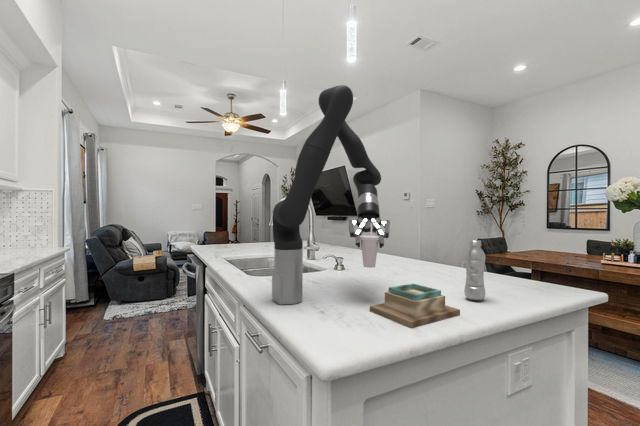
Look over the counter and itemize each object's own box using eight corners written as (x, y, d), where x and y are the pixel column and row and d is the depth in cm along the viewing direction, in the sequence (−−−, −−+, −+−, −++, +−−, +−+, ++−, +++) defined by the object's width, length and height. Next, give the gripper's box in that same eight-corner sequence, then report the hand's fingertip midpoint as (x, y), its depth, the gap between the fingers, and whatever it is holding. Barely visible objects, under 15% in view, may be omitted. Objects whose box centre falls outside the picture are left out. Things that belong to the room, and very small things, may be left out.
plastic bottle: (464, 301, 106) (465, 240, 106) (463, 296, 112) (464, 239, 112) (486, 303, 103) (487, 241, 103) (484, 298, 110) (485, 239, 109)
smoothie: (379, 268, 99) (379, 223, 99) (358, 267, 101) (358, 223, 100) (379, 265, 106) (380, 222, 105) (360, 264, 107) (360, 222, 107)
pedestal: (411, 328, 82) (411, 300, 82) (369, 311, 95) (369, 287, 95) (460, 314, 92) (460, 290, 92) (416, 301, 106) (416, 279, 106)
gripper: (347, 200, 111) (347, 238, 99) (390, 201, 110) (394, 239, 98) (347, 215, 116) (347, 252, 105) (388, 216, 115) (391, 254, 103)
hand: (369, 246), depth 101 cm, fingers closed on smoothie, 6 cm apart
